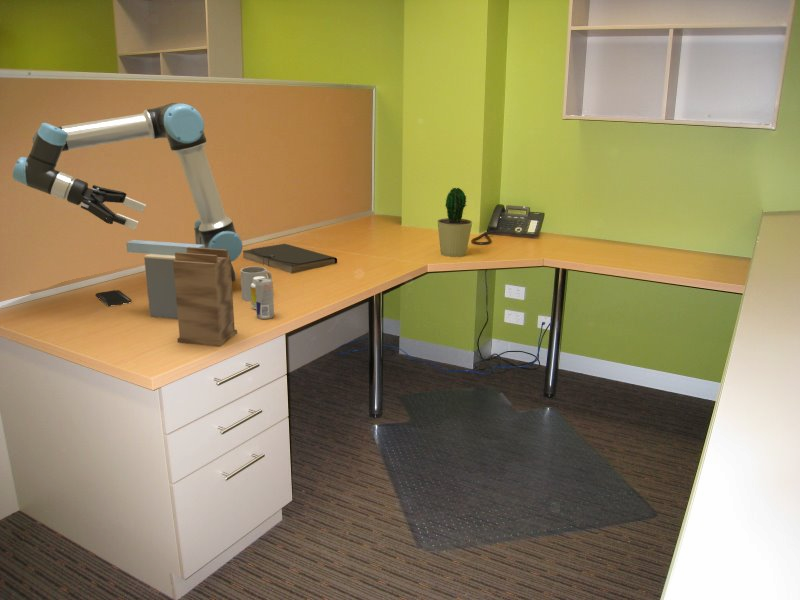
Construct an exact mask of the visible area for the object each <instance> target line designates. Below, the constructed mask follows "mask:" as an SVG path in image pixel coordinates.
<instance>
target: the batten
mask: <svg viewBox="0 0 800 600" xmlns="http://www.w3.org/2000/svg"><path fill="white" fill-rule="evenodd" d="M125 245H126V252H127V253H136V254H145V255H148V254H160V255H173V256H175V253H176V252H181V253H187V247H196V248H205V245H199V244H196V243H181V242H169V241H153V240H141V239H140V240H139V239H132V240H129V241H127V242H126V244H125Z"/></svg>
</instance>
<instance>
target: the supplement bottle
mask: <svg viewBox="0 0 800 600" xmlns="http://www.w3.org/2000/svg"><path fill="white" fill-rule="evenodd" d="M261 278H265V277H262V276H258V277H254V278H253V283H252V284H251V300H252V302H251V308H252V309H253V310H256V311H257V309H256V288H255V282H256V280H257V279H261Z"/></svg>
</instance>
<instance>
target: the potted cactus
mask: <svg viewBox="0 0 800 600" xmlns="http://www.w3.org/2000/svg"><path fill="white" fill-rule="evenodd" d="M466 192H467V191H466ZM466 192H465V191H464V189H463V188H462V189H461V188H459V187H452V188H451V189H450V191H448V192H447V195H446V198H445V206H444V208H445V209H446V214H447V215H446V216H447V217H446V218H445V217H444V218H439V219H437V230H438V239H439V248H440V255H441V256H445V257H451V258H459V257H460V258H462V257H465V256H466V255H467V251H468V245H469V241H470V237H471V236H470V235H471V231H472V226H473V221H472V220H470V219H465V218H463V214H466V213H464V209H465V208H466V207H467V206H468V205H467V204H466V203H467V195H466V194H465V193H466Z"/></svg>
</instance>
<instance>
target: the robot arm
mask: <svg viewBox="0 0 800 600" xmlns="http://www.w3.org/2000/svg"><path fill="white" fill-rule="evenodd" d="M36 131H37V132H36ZM36 131H35V132H36V133H35V132H34V133H35V135H34V134H33V135H34V137H33V136H32V145H31V150H30V152H29V154H28V156H27V157H25V156H21V157H19V158H18V159H17V161H16V163H15V164H14V167H13V170H12V179H14V180H15V182H18V183H20V184H22V185H25V186H27V187H29V188H31V189H35V190H38V191H40V192H42V193H45V194H48V195H51V196H53V197H55V198H56V199H61V200H66V201H67V202H68V203H71V204H73V205H76V206H80V208H81V209H83V210H85V211H87V212H89V213H90V214H92V215H94V217H96V218H98V219H100V220H101V221H102V222H105V224H108V225H113V224H114V223H116V224H118V225H119V224H120V225H122V226H124V227H127V228H129V229H132V230H136V229H137V228H138V225H139V221H138V220H135V219H133V218H131V217H127V216H126V215H123V214H120V213H115V212H113V211H112V210H111V209H110V208H109V207H107V206H106V205H105V204H104V203H117V204H118V203H120V204H122V205H123V206H125V207H127V208H129V209H133V210H135V211H138V212H140V213H142V214H144V211H145V209H146V207H147V204H145V203H143V202H140V201H138V200H136V199H133V198H130V197H128V196H127V195H128V194H127V193H126V192H124V191H121V190H115V189H111V188H105V187H100V186H98V185H95V184H93V185H92V188H89V187H88V186H89V183H88V182H86V181H84V180H81V179H79V178H75V177H74V176H72V175H70V174H67V173H64V172H63V171H59V170H57V169H56V167H57V163H58V161H59V158H60V157H61V154H62V152H67V151H72V150H78V149H84V148H89V147H95V146H101V145H106V144H107V145H108V144H112V143H113V144H114V143H118V142H119V143H120V142H126V141H132V140H139V139H144V138H150V139H152V140H155V139H165V138H166V139H167V142H168V144H169V145H168V146H169V148H170V150H171V152H173V153H175V154H176V155H178V160H179V162H180V165H181V167H182V168H181V169H182V170H183V173H184V177H185V179H186V182H187V185H188V188H189V191H190V194H191V197H192V199H193V204H194V206H195V209H196V211H197V215H198V217H199V219H198V220H195V222H194V228H193V230H194V236H195V237H194V238H195V240H194V241H195V244H199V245H205V248H210V249H224V250H228V256H230V259H231V276H232V283H233V282H235V281H236V272H235V269H234V267H233V264H232V262H234V261H236V260H237V259H238V258H239V257H240V255H241V253H242V252H243V241H242V239H241V237H240V236H239V234H238V233H237V232H236V228H235V225H234V222H233V220H232V218H230V217H228V216H227V215H226V212H225V210H224V205H223V203H222V199H221V196H220V194H219V193H220V192H219V190H218V188H217V185H216V181H215V179H214V178H215V177H214V175H213V172H212V169H211V164H210V162H209V160H208V156H207V153H206V150H205V147H206V144H207V143H208V141H207V138H206V135H205V122H204V119H203V116H202V115H201V113H200V112H199V111H198V110H197V109H196V108H195V107H193V106H192V105H189V104H186V103H182V102H181V103H177V102H171V103H167V104H164V105H161V106H157V107H153V108H149V109H144V110H143V112H142V113H137V114H130V115H124V116H118V117H111V118H107V119H98V120H93V121H87V122H81V123H74V124H68V125H63V126H55V125H53V124H50V123H48V122H42V123H41V124H40V126H39V128H38V129H37V130H36ZM74 178H75V179H74Z"/></svg>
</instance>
